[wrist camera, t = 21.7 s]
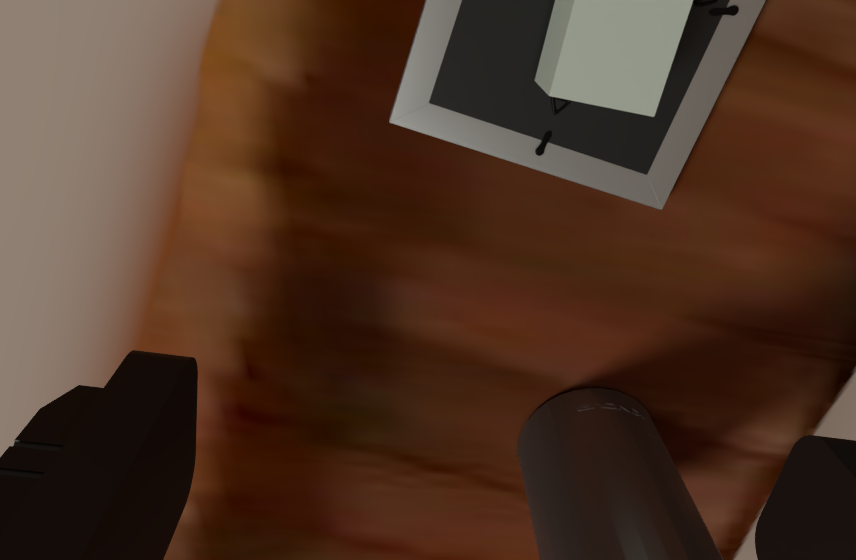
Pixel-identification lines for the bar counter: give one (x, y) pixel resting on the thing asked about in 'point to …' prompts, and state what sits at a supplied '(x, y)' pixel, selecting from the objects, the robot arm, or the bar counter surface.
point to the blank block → (611, 51)
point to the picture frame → (555, 117)
